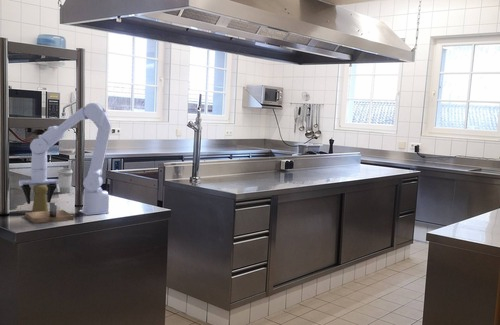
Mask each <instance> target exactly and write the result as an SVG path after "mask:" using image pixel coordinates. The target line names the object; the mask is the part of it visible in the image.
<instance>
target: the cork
mask: <svg viewBox="0 0 500 325" xmlns="http://www.w3.org/2000/svg"><path fill="white" fill-rule="evenodd" d="M32 189H33V193H34V197H33V204H32V210H31V212H41V211H49V208H48V207H49V206H48V202H47V191H48V188H47V185H33V188H32Z"/></svg>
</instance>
